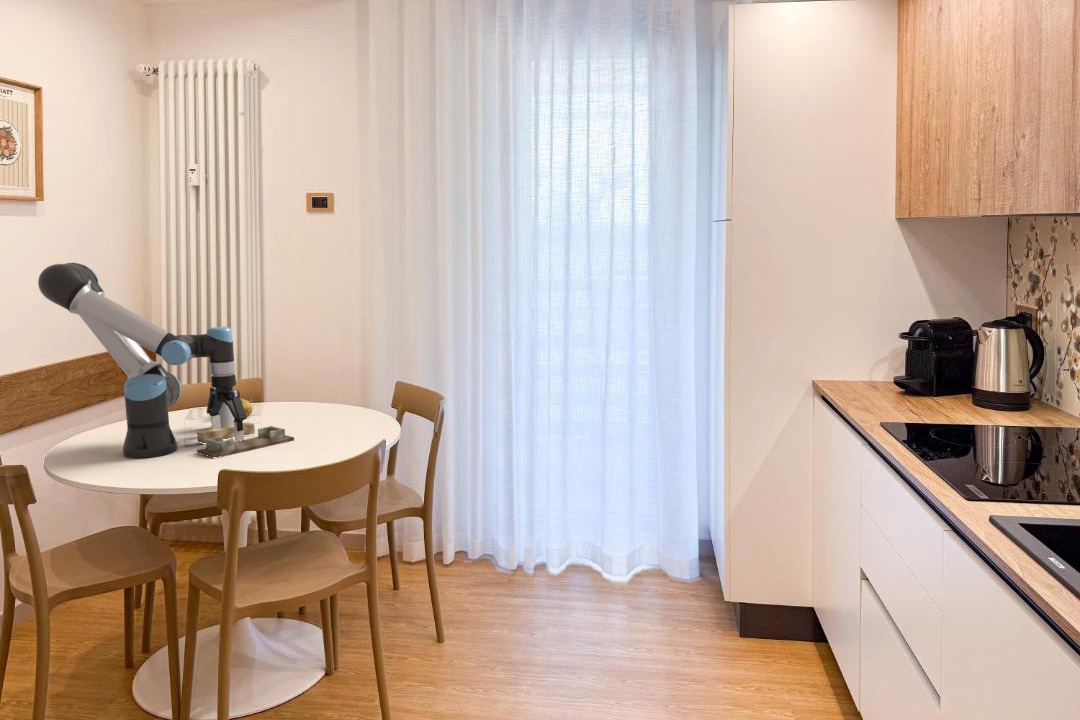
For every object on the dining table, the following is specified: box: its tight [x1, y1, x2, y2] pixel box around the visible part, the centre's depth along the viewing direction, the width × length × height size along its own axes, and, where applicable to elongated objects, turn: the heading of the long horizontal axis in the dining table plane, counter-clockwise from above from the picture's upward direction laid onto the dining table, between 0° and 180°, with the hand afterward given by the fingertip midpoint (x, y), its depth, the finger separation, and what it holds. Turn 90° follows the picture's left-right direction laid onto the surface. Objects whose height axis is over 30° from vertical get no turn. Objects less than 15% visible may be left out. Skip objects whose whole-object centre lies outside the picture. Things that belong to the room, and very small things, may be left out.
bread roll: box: [235, 397, 253, 418], centre depth 302 cm, size 13×10×8 cm
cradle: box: [196, 425, 295, 458], centre depth 257 cm, size 28×10×4 cm, turn 141°
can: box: [219, 400, 235, 427], centre depth 283 cm, size 8×8×12 cm
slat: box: [196, 421, 256, 443], centre depth 267 cm, size 18×4×4 cm, turn 141°
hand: (228, 437), depth 268 cm, fingers open, 13 cm apart
